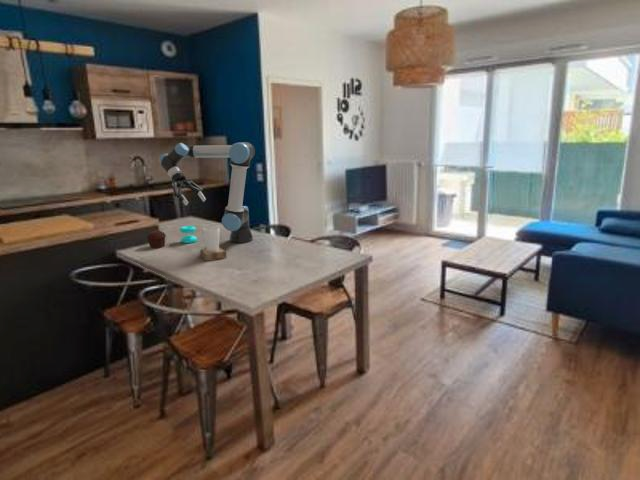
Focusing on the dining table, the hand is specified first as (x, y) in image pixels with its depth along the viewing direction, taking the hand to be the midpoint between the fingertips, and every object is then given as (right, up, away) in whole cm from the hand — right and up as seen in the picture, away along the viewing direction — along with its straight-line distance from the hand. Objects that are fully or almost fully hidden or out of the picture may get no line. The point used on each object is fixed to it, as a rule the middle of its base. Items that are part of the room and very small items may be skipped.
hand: (196, 202), depth 246 cm
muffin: (-30, -27, +16) cm, 43 cm away
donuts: (-13, -24, +26) cm, 38 cm away
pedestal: (+12, -32, -7) cm, 35 cm away
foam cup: (+12, -29, -8) cm, 32 cm away
